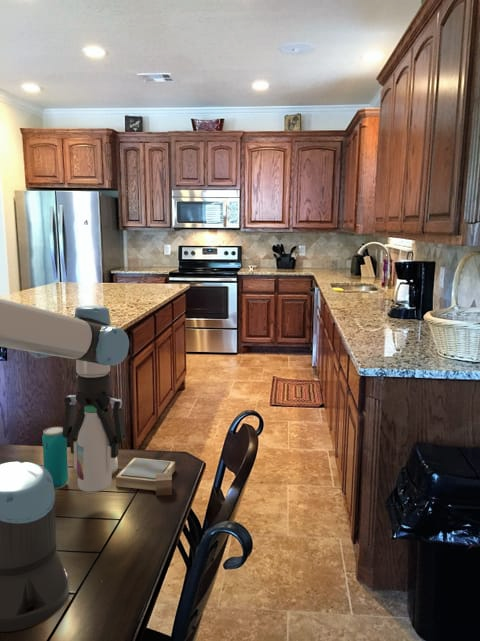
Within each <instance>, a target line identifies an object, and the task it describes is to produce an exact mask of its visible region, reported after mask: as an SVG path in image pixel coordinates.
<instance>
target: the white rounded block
mask: <svg viewBox="0 0 480 641" xmlns="http://www.w3.org/2000/svg"><path fill="white" fill-rule="evenodd" d="M118 459H119V458H118V456H117V457H116V458H115V469H113V470H112V475H113V474H115V473H116V472H118V470H119V464H118V461H119V460H118Z"/></svg>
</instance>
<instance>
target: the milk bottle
mask: <svg viewBox="0 0 480 641" xmlns="http://www.w3.org/2000/svg"><path fill="white" fill-rule="evenodd" d="M84 411H85V412H84V414H85V418H84V421H83V424H82V426H81V429H80V431H79V434H78V440H77V469H76V470H77V488H78V489H79V490H80V491H83V492H86V493H96V492H100V491H104V490H106V489H107V488H109V487H110V486H111V484H112V481H113V478H112V476H113V474H112V471H111V472H110V473H108V472H107V445H108V444H109V443H110V442H109V440H108V437H107V435H106V432H105V429H104V427H103V424H102V422H101V419H100V418H99V417H98V415H97V413H96V412H97V409H96V408H95V407H94V406H93V405H90V404H88V405H86V406H85V407H84ZM87 412H88V413H87ZM103 413H104V411H103Z"/></svg>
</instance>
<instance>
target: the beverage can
mask: <svg viewBox="0 0 480 641" xmlns="http://www.w3.org/2000/svg"><path fill="white" fill-rule="evenodd" d="M62 433H63V426H51V427H47V428H45V429H44V430H43V434H42V436H41V437H42V439H41V441H42V457H43V458H42V459H43V460H42V461H43V467H44V468H45V469H46V470H47V471H48V472H49V473H50V475H51V477H52V480H53V486H54V491H55V490H60V489H63V488H64V487H66V485H67V484H68V480H69V466H68V465H69V464H68V443H67V441H68V440H67V439H68V438H64V437H63V436H62Z"/></svg>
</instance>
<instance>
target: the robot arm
mask: <svg viewBox="0 0 480 641" xmlns="http://www.w3.org/2000/svg"><path fill="white" fill-rule="evenodd" d="M74 311H75V312H74V316H69V315H64V314H61V313H57V312H55V311H49V310H46V309H42V308H39V307H34V306H32V305H28V304H23V303H20V302H16V301H12V300H8V299H5V298H2V297H0V347H1V348H6V349H7V348H8V349H14V350H19V351H24V352H28V354H29V355H30V356H32V357H34V358H37V359H41V358H43V359H44V358H48V359H49V358H50V357H60V358H66V359H71V360H75V372H76V373H77V375H76V379H75V380H76V386H75V387H76V391H77V392H76V394H69V395H67V396H66V397H64V399H63V401H64V407H65V410H64V418H63V425H62V427H63V433H62V436H63V437H64V438H67V439H68V440H69V442H70V454H73V469H74V470H77V440H78V434H79V431H80V429H81V426H82V424H83V421H84V418H85V414H84V412H85V411H84V407H85V406H86V405H88V404H90V405H93V406H94V407H95V408H96V409H97V412H96V413H97V415H98V417H99V418H100V419H101V422H102V424H103V427H104V429H105V432H106V435H107V437H108V440H109V442H110V443H109V444H108V445H107V472H108V473H110V472H111V471H112V470H113V469H115V458H116V457H117V458H118V455H119V444H122V443H123V442H124V441H125V440H127V432H126V425H125V419H124V412H123V405H124V399H123V398H114V397H113V396H112V394H111V373H110V371H111V366H118V365H119V364H121V363H123V361H124V360H125V359H126V358H127V356H128V353H129V348H130V340H129V337H128V334H127V332H125V331H124V330H123V329H122V328H120V327H117V326H113V325H111V316H110V310H109V308H107V307H106V306H103V305H81V306H76V308H75V310H74ZM77 403H78V406H80V407H79V410H78V413H77V416H76V417H77V418H76V419H75V414H76V407H77V406H76V404H77ZM109 405H111V409H112V414H113V415H112V417H113V419H112V417H111V414H110V413H111V410H110V409H109ZM103 411H104V413H103ZM87 413H88V412H87ZM74 421H75V423H74ZM113 421H114V422H113ZM55 502H56V492H55V490H54V486H53V480H52V477H51V475H50V473H49V472H48V471H47V470H46V469H45V468H44V466H42V465H40V464H37V463H34V462H30V461H24V462H20V461H10V462H9V461H8V462H4V463H0V632H1V633H6V632H7V633H8V632H16V631H21V630H25V629H28V628H32V627H34V626H35V625H38V624H40V623H43V622H44V621H45V620H47V619H49V618H51V617H52V616H53V615H54V614H55V613H57V612H58V611H59V610H60V609H61V608H62V607H63V606H64V604H65V602H66V601H67V599H68V597H69V591H70V587H69V585H70V584H69V583H70V582H69V575H68V573H67V571H66V569H65V567H64V565H63V562H62V560H61V557H60V554H59V553H58V550H57V531H56V528H57V527H56V503H55Z"/></svg>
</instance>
